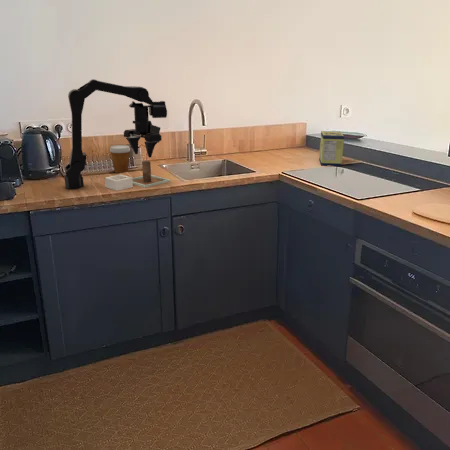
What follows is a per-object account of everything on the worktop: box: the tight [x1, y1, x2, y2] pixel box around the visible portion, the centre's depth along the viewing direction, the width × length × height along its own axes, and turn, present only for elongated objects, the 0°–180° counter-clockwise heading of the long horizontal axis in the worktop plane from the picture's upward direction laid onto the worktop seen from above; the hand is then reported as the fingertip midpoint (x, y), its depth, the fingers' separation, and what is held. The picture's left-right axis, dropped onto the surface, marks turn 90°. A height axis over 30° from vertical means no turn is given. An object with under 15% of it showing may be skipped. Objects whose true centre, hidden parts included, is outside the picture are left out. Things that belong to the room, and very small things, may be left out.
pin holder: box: [104, 173, 134, 192], centre depth 195 cm, size 8×8×5 cm
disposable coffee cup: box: [109, 144, 131, 174], centre depth 223 cm, size 10×10×12 cm
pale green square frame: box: [132, 174, 171, 189], centre depth 205 cm, size 14×14×2 cm
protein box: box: [318, 130, 345, 167], centre depth 246 cm, size 10×16×16 cm
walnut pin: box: [141, 160, 152, 184], centre depth 204 cm, size 4×4×9 cm
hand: (143, 155), depth 201 cm, fingers open, 9 cm apart
